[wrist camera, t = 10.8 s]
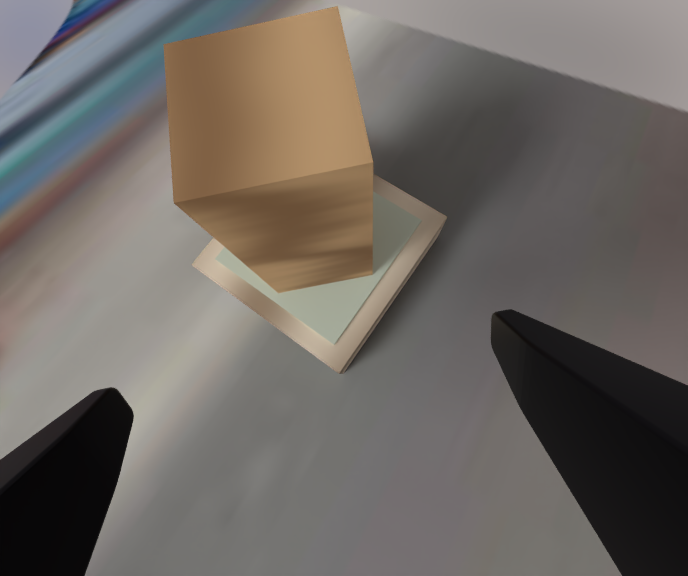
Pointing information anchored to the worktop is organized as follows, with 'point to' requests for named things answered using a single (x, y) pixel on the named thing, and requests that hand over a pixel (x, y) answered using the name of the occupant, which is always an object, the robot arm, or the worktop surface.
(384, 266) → the plinth
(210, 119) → the oak block
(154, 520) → the worktop surface
